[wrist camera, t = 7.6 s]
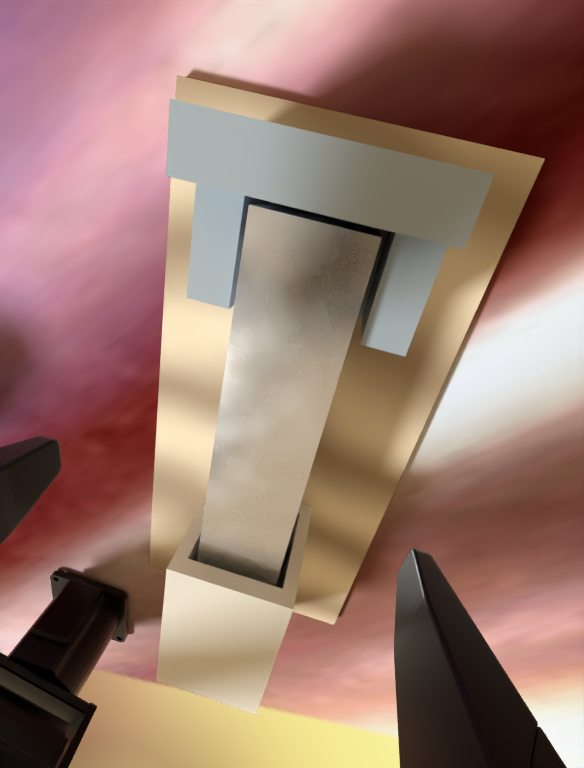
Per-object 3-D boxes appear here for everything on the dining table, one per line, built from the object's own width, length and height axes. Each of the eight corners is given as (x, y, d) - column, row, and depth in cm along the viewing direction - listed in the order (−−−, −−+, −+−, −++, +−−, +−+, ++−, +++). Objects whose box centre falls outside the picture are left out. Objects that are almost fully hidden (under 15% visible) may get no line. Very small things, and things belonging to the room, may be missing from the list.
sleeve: (279, 607, 27) (255, 714, 21) (200, 581, 27) (156, 680, 22) (312, 506, 22) (293, 609, 17) (216, 478, 23) (166, 568, 17)
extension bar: (287, 534, 22) (271, 597, 19) (222, 514, 22) (194, 573, 19) (378, 228, 14) (381, 237, 11) (278, 204, 15) (248, 204, 11)
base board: (334, 617, 27) (333, 624, 27) (152, 559, 28) (148, 565, 28) (539, 160, 14) (545, 158, 14) (182, 79, 15) (176, 75, 14)
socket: (397, 321, 17) (411, 380, 11) (227, 276, 17) (158, 311, 12) (445, 185, 14) (495, 173, 9) (245, 138, 15) (170, 98, 9)
